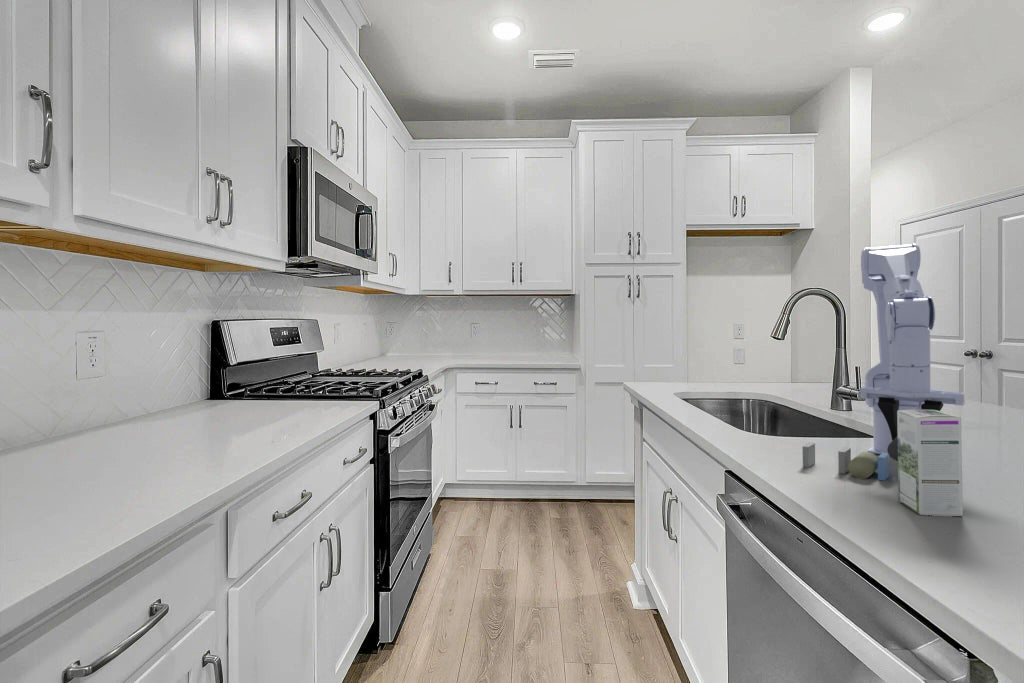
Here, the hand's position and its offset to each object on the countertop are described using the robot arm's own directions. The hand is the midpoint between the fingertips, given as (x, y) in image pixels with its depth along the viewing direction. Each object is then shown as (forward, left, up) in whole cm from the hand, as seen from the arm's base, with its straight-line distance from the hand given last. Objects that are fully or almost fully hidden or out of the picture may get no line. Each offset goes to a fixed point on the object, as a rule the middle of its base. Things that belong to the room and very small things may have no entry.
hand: (909, 441), depth 91 cm
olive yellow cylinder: (+4, -6, -6) cm, 10 cm away
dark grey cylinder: (+3, 0, -2) cm, 4 cm away
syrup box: (+18, +5, -6) cm, 20 cm away
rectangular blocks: (+4, -6, -6) cm, 10 cm away
